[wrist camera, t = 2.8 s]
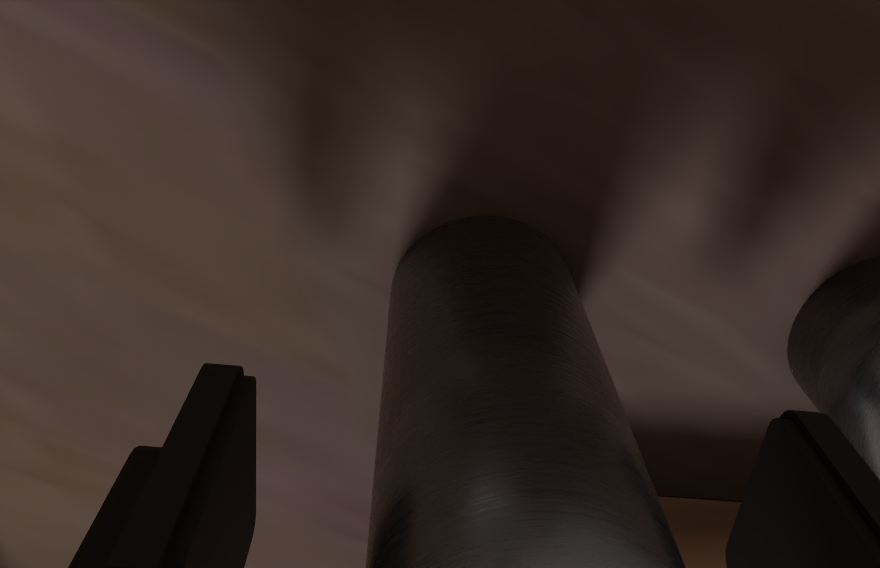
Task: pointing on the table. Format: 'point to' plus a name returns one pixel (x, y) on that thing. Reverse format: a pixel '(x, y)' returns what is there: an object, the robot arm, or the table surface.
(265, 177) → the table surface
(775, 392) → the table surface
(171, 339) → the table surface
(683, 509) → the hole block
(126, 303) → the table surface
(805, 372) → the short pin
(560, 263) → the long pin
